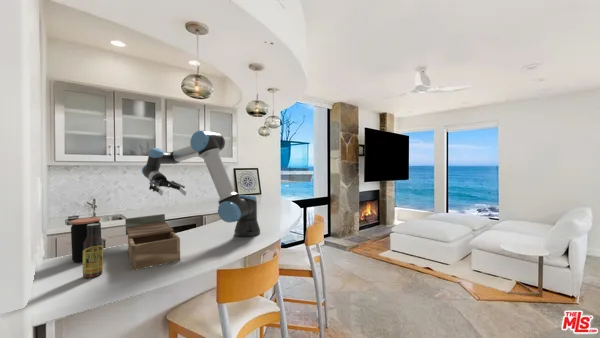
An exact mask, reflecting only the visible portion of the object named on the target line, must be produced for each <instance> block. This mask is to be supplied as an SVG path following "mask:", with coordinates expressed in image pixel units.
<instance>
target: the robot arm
mask: <svg viewBox="0 0 600 338" xmlns="http://www.w3.org/2000/svg"><path fill="white" fill-rule="evenodd" d="M225 140H226V139H225V137H224V136H223V135H222V134H221V133H219V132H215V131H214V132H213V131H206V130H197V131H195V132H194V133H193V134H192V135H191V138H190V141H189V143H190V145H188V146H186V147H182V148H179V149H177V150H174V151H170V152H169V151H167V152H166V151H164V150H163V149H162V148H156V147H152V148H150V150H149V153H148V158H147V162H146V164H145V165H143V167H142V168H141V174H143V176H144V177H145V178H147V179H148V180H149V183H148V184H149V187H148V189H149V190H151V191H152V192H156V193H158V195H160V196H163V195H164V190H163V189H162V188H161V187H164V188H168V189H169V188H171V189H174V190H178V192H179V193H181V194H182V195H183V196H185V197H186V195H187V192H188V191H187V189H185V188H186V186H185V185H183V184H180V183H178V182H176V181H175V180H171V181H170V180H168V178H167V177H166V176H165V175H164V174H163V173H162V172H161V171H159V170H160V168H161V165H165V164H166V165H167V164H168V165H169V164H170V165H171V164H172V165H177V164H180V162H182V161H187V160H189V159H193V158H196V157H199V158H200V159H202V160H204V162H205V165H206V167H207V170H208V172H209V175H210V177H211V180H212V183H213V184H214V188H215V189H216V193H217V195H218V196H219V200H218V209H217V213H218V216H219V218H220V219H221V220H222V221H223V222H225V223H235V222H236V225H235V227H234V232H233V234H234V236H235V237H239V238H250V237H254V236H255V237H256V236H259V235H260V234H261V228H260V225H259V222H258V201H257V197H256V196H255V195H246V194H245V195H243V194H241V195H240V194H239V192H236V191H235V189H234V186H233V185H232V183H231V180H230V177H229V174H228V173H227V171H226V167H225V166H224V165H225V164H224V163H223V161H222V158H221V155H220V152H221V151H222V150H223V149H224V148H225V145H226V141H225Z"/></svg>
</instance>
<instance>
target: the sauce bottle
mask: <svg viewBox="0 0 600 338" xmlns="http://www.w3.org/2000/svg"><path fill="white" fill-rule="evenodd" d="M99 227H100V224H88V225H87V237H86V239H85V241H84V243H83V263H82V276H83V278H84V279H91V278H96V277H99V276H101V275H102V274H103V270H104V242H103V241H104V240H103V238H102V236H101V237H100V236H99Z"/></svg>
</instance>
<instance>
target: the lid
mask: <svg viewBox="0 0 600 338" xmlns="http://www.w3.org/2000/svg"><path fill="white" fill-rule="evenodd" d="M124 220H125V235H126V236H127V237H128V236H129V238H136V237H142V236H149V235H155V234H162V233H168V232H174V228H173V227H171V226H170V225H169V224H168V223H167V222H166V214H164V213H162V214H160V213H159V214H153V215H147V216H146V215H145V216H143V215H142V216H136V217H130V218H129V217H128V218H125V219H124ZM174 233H175V232H174Z"/></svg>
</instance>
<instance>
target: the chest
mask: <svg viewBox="0 0 600 338" xmlns="http://www.w3.org/2000/svg"><path fill="white" fill-rule="evenodd" d="M127 250H128V253H127V254H128V259H129V263H130V262H131V263H130V266H132V267H131V270H134V271H137V270H136V269H139V270H142V269H141V268H143V269H146V268H145V267H148V268H151V267H150V266H153V267H156V265H157V266H160V264H162V265H165V263H167V264H169V263H170V262H171V263H175V262H174V261H176V262H181V238H180V237H179V236H178V235H177V233H175V232H168V233H162V234H155V235H149V236H142V237H136V238H129V236H128V235H127Z"/></svg>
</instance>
